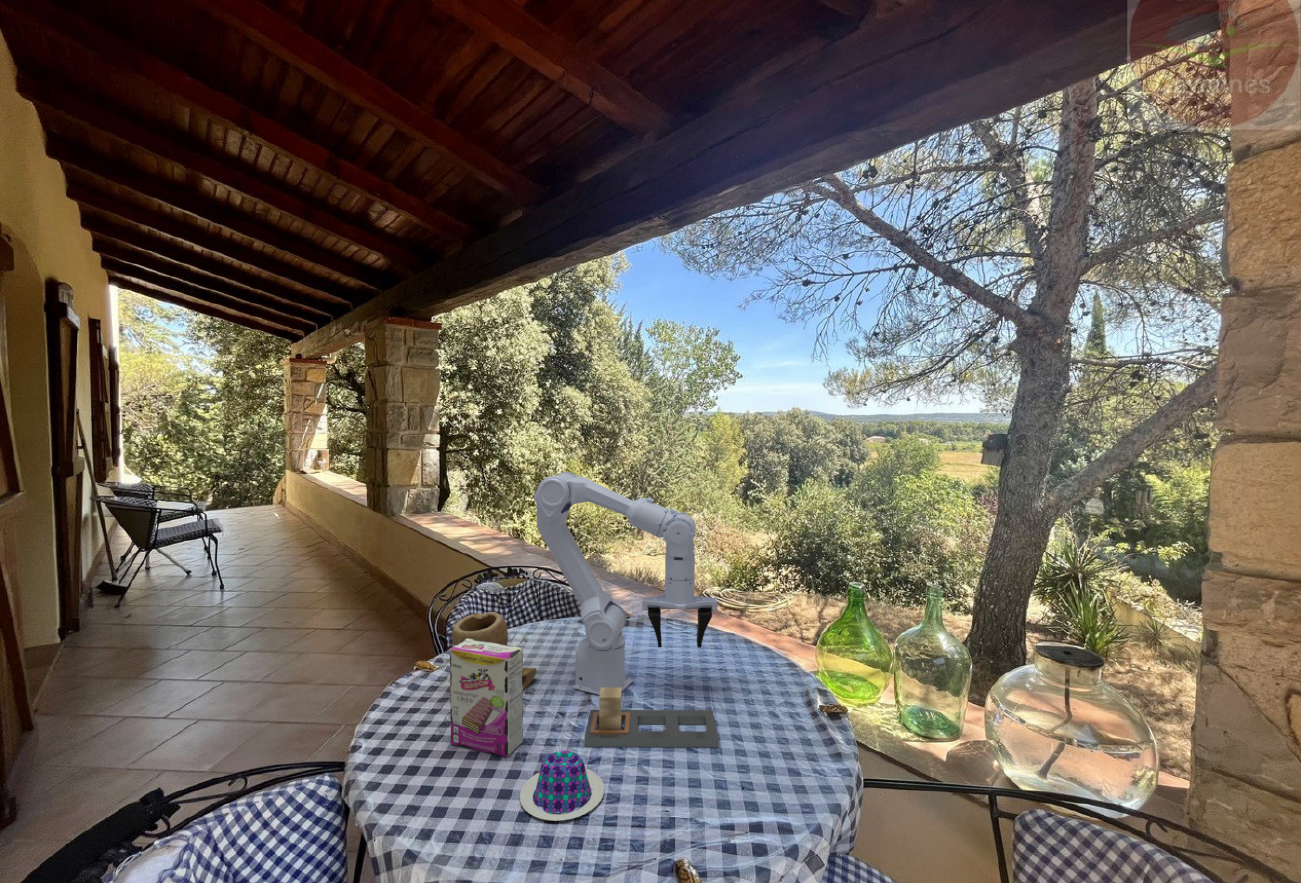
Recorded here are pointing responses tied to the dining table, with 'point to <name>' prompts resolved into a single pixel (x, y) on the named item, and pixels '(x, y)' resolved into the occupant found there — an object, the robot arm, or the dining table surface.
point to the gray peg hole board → (654, 738)
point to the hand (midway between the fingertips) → (679, 645)
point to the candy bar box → (486, 696)
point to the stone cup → (487, 634)
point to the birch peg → (610, 708)
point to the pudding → (562, 788)
